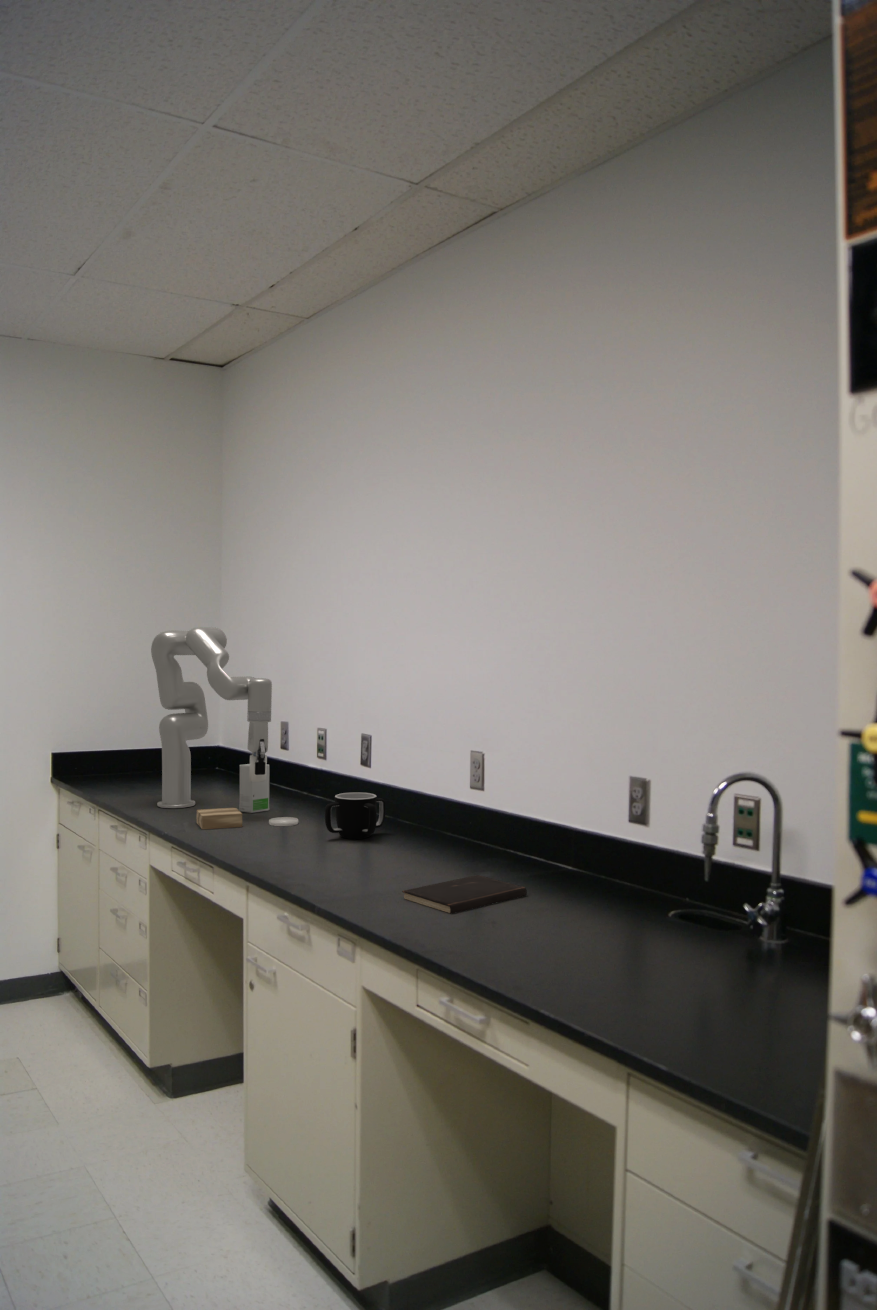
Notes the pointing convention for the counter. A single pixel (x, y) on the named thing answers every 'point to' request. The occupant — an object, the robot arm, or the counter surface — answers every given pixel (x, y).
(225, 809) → the oak slab
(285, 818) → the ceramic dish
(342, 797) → the mug
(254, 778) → the reagent bottle
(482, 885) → the hardcover book
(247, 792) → the skincare box
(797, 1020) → the counter surface
